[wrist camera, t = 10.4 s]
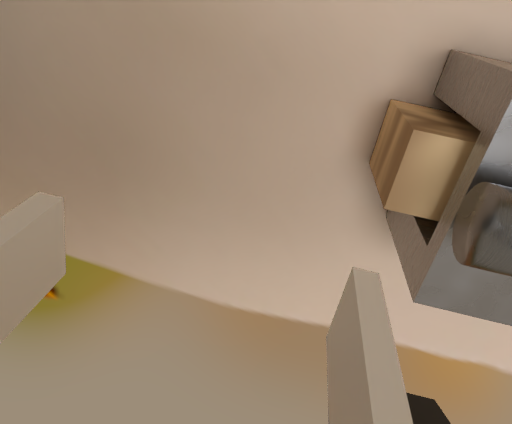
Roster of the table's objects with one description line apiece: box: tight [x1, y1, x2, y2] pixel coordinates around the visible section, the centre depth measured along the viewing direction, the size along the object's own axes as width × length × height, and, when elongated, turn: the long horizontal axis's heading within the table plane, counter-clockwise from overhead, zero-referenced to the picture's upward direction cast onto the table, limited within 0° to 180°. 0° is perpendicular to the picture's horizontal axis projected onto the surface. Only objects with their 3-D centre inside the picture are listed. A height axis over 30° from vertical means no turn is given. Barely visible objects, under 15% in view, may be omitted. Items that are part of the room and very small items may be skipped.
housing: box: [386, 50, 512, 326], centre depth 24 cm, size 6×13×15 cm, turn 169°
